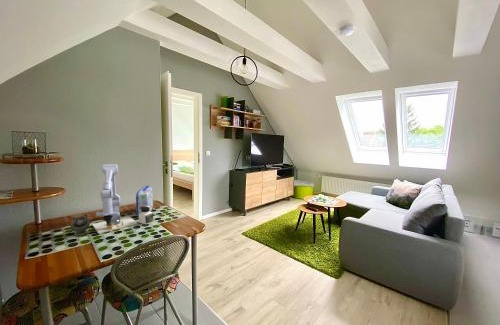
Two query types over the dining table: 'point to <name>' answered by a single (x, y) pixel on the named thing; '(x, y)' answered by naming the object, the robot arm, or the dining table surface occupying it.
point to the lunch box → (144, 199)
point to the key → (113, 223)
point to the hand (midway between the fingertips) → (108, 225)
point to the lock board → (124, 222)
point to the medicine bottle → (145, 215)
